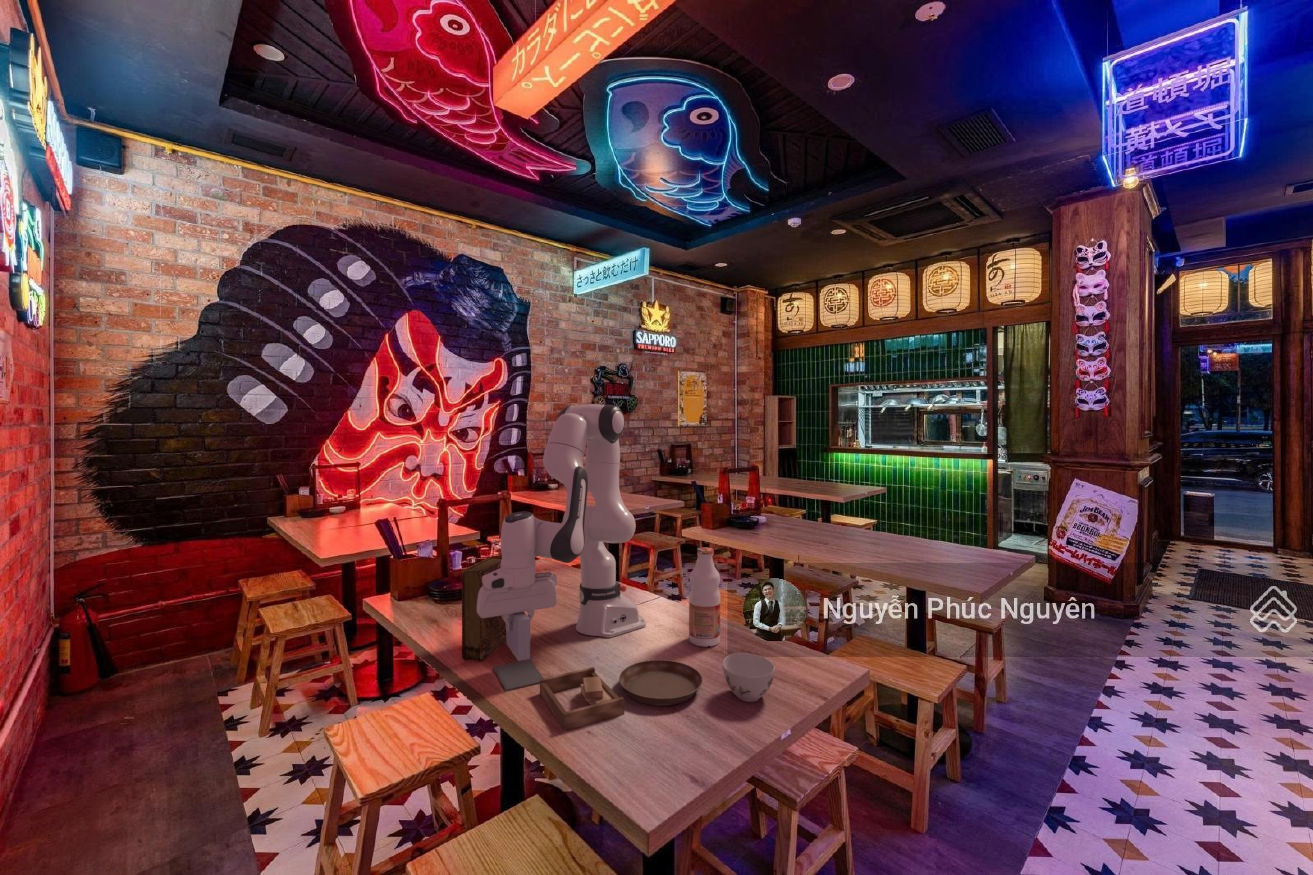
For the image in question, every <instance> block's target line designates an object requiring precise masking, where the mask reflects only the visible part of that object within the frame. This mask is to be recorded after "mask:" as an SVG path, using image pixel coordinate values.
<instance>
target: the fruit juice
mask: <svg viewBox="0 0 1313 875" xmlns="http://www.w3.org/2000/svg"><path fill="white" fill-rule="evenodd" d="M696 554H697V560H696V563H695V565H694V568H692V571H691V572H690V575H689V581H690V582H689V583H690V585H691V589H690V590H689V597H688V598H689V599H688V600H689V601H688V603H689V604H688V640H689V642H690V644H692V645H694V646H698V647H703V648H705V647H706V648H707V647H708V646H710V647H714V646H716V645H718V644H719V643H720V641H721V601H722V600H721V592H720V590H719V589H720V588H719V586H720V583H721V577H720V576H721V574H720V572H719V571H718V570H717V569H716V566H715V563H714V559H713V555H714V549H713V548H712V547H705V546H703V547H697V548H696Z"/></svg>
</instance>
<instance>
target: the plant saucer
mask: <svg viewBox="0 0 1313 875" xmlns="http://www.w3.org/2000/svg"><path fill="white" fill-rule="evenodd" d="M618 680H619V684H620V686H621V687H622V689H623V690H624V691H625V692H626V693H627V694H628V695H629V697H631V698H633V699H634V700H635V701H638V702H640V703H642V704H645V705H649V706H656V707H657V706H658V707H659V706H660V707H662V706H674V705H677V704H678V705H679V704H681V703H683V702H684V703H685V702H686V701H688V700H689V699H690V698H692V697H693V696H694V695H695V694H696V693H697V692H698V691H699V690H700V689H701V686H702V685H703V680H704V679H703V676H702V674H701V673H700V672H699V671H698V670H697V668H694V667H693V666H690V665H689V664H686V663H683V662H678V661H676V660H675V661H674V660H668V659H667V660H666V659H651V660H644V661H639V662H636V663H634V664H631V665H629V666H627V667H625V668H624V669H623V670H622V671H621V673H620V674H619V677H618Z"/></svg>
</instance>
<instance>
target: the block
mask: <svg viewBox="0 0 1313 875" xmlns="http://www.w3.org/2000/svg"><path fill="white" fill-rule="evenodd" d="M506 619H507V621H508V622H512V623H513V627H512V628H513V630H511V631H506V642H505V644H506V645H507V647H508V648H509V650H510V652H512V654H513V655H514V657H515V659H516V660H517V662H519V661H523V660H528V659H530V660H531V621H530V618H529V617H528V614H526V613H525V612H520V613H514V614H509V618H506Z"/></svg>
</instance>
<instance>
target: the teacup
mask: <svg viewBox="0 0 1313 875" xmlns="http://www.w3.org/2000/svg"><path fill="white" fill-rule="evenodd" d="M722 670H723V676H724V679H725V682H726V683H727V686H728V688H729V690H730V691H731V692H732V693H733V694H734V695H735V696H736V697H737V699H738V700H741V701H743V702H747V703H753V702H757V701H759V699H760V698H761V697H763V696H764V695H766V693H767V692H768V691H769V689H770V688H771V686H772V684H773V681H774V677H775V671H776V666H775V664H774V663H773V660H772V659H769V658H767V657H765V656H761V655H758V654H754V653H749V652H737V653H731V654H729V655H727V656H725V658H723V661H722Z"/></svg>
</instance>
